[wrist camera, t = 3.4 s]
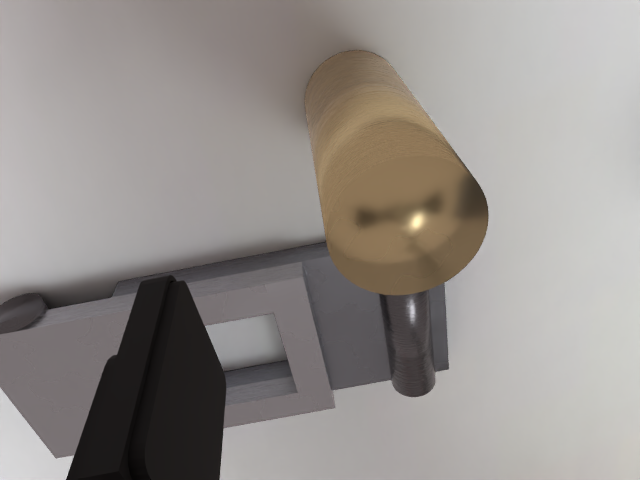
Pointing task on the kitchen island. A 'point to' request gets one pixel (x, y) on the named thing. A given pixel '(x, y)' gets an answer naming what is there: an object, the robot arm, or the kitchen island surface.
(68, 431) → the hinged hasp latch
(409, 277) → the brass pin
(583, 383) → the kitchen island surface
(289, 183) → the kitchen island surface
